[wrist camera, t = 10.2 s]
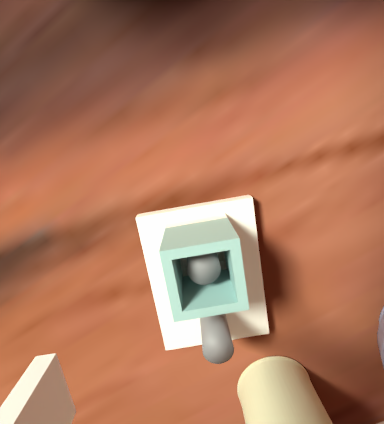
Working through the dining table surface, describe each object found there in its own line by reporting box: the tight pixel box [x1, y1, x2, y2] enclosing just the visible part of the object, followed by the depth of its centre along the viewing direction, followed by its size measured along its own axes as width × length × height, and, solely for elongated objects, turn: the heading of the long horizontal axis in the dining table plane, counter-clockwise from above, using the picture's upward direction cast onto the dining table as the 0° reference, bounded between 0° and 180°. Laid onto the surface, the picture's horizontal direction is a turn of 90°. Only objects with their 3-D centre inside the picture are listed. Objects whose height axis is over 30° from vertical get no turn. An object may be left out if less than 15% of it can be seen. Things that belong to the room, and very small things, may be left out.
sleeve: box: [159, 213, 249, 322], centre depth 25 cm, size 6×6×8 cm
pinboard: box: [136, 195, 269, 364], centre depth 27 cm, size 16×12×8 cm
